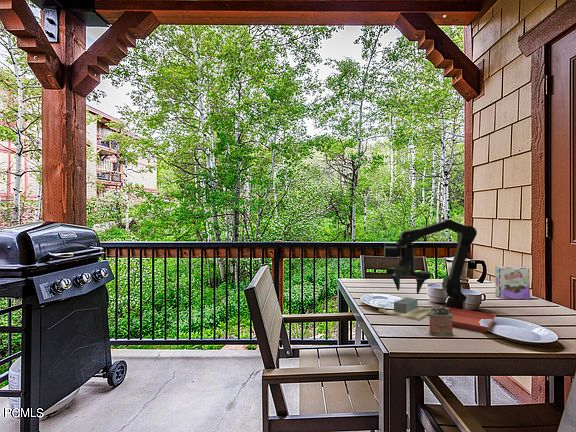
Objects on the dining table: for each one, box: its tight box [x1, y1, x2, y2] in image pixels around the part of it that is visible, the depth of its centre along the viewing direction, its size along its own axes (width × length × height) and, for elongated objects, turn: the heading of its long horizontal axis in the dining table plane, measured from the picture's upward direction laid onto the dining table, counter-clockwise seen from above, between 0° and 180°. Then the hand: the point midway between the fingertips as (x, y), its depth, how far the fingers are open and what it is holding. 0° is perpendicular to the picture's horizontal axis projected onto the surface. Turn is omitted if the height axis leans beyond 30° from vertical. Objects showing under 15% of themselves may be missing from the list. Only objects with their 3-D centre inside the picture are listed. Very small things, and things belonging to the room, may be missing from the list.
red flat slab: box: [445, 306, 497, 333], centre depth 123 cm, size 18×18×3 cm
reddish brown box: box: [428, 305, 454, 337], centre depth 111 cm, size 8×3×10 cm, turn 84°
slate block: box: [393, 297, 419, 314], centre depth 139 cm, size 5×4×13 cm
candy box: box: [494, 265, 531, 301], centre depth 162 cm, size 14×6×16 cm, turn 73°
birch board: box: [378, 306, 434, 321], centre depth 138 cm, size 18×16×1 cm
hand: (407, 291), depth 140 cm, fingers open, 9 cm apart
